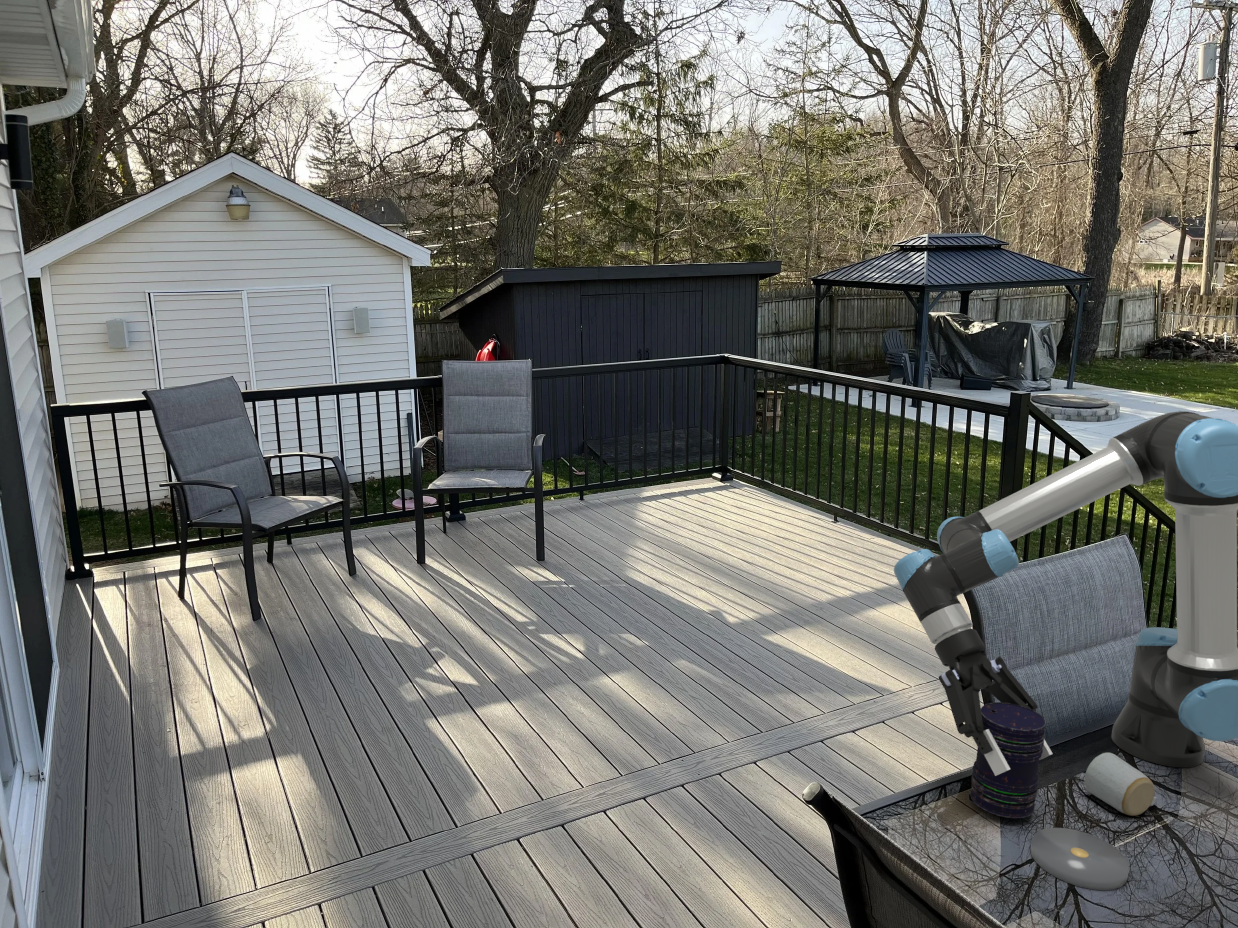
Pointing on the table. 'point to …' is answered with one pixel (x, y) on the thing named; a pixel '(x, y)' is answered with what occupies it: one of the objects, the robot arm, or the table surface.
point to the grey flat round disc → (1079, 858)
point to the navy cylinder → (1010, 761)
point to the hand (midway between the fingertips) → (1024, 764)
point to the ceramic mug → (1119, 784)
